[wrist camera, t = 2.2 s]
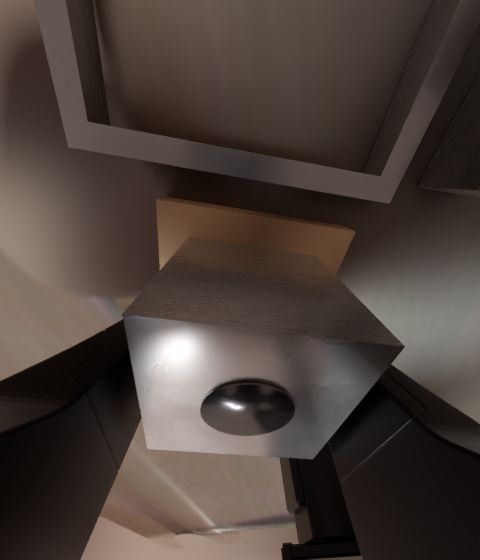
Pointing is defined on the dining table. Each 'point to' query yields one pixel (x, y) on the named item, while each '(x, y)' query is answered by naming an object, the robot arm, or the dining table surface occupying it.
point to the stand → (248, 230)
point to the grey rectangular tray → (188, 154)
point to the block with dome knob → (250, 351)
